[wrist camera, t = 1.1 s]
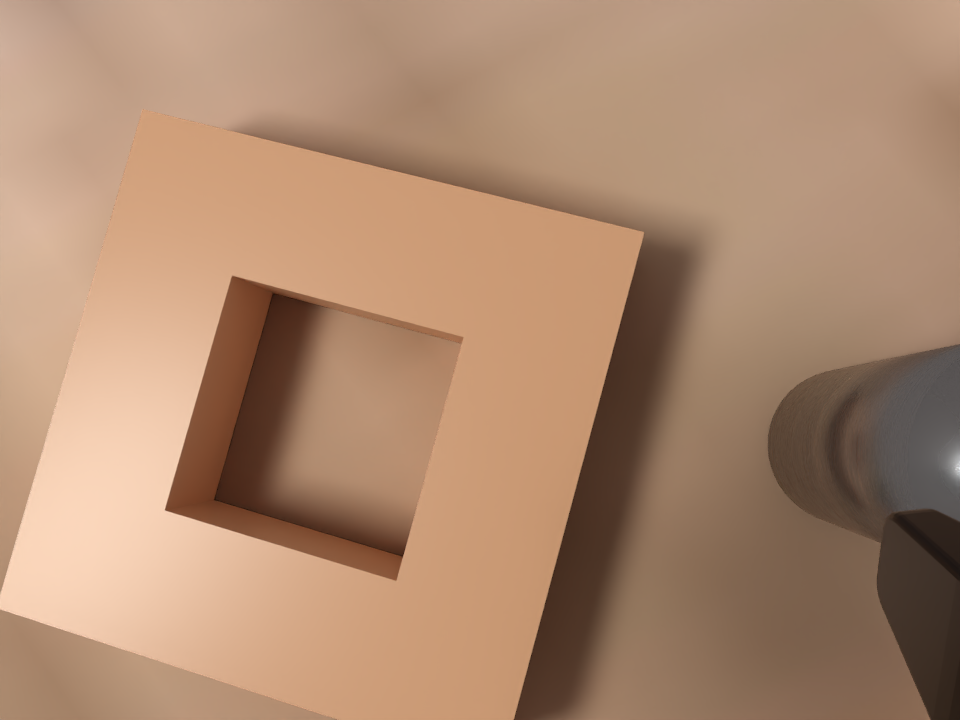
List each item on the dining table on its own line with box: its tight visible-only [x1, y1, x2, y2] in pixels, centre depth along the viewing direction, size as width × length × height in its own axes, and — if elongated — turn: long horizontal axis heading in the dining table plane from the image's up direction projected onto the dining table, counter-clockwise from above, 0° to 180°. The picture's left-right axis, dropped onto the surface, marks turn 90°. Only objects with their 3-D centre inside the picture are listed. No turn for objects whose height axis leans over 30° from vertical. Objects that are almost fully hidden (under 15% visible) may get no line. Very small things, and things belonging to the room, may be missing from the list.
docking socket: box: [0, 109, 644, 720], centre depth 23 cm, size 13×13×3 cm
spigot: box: [768, 344, 960, 543], centre depth 18 cm, size 4×4×10 cm
